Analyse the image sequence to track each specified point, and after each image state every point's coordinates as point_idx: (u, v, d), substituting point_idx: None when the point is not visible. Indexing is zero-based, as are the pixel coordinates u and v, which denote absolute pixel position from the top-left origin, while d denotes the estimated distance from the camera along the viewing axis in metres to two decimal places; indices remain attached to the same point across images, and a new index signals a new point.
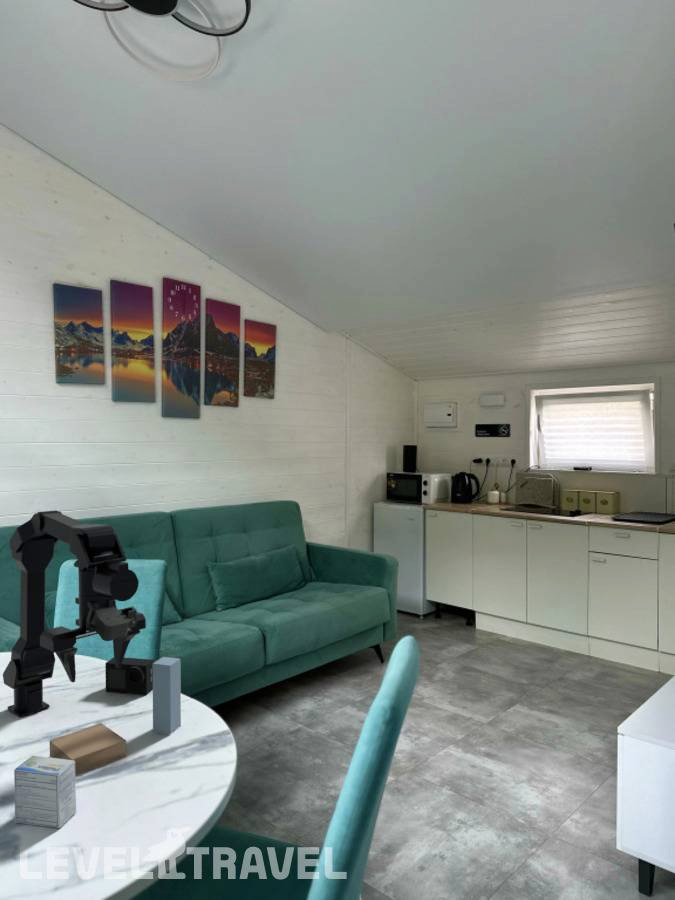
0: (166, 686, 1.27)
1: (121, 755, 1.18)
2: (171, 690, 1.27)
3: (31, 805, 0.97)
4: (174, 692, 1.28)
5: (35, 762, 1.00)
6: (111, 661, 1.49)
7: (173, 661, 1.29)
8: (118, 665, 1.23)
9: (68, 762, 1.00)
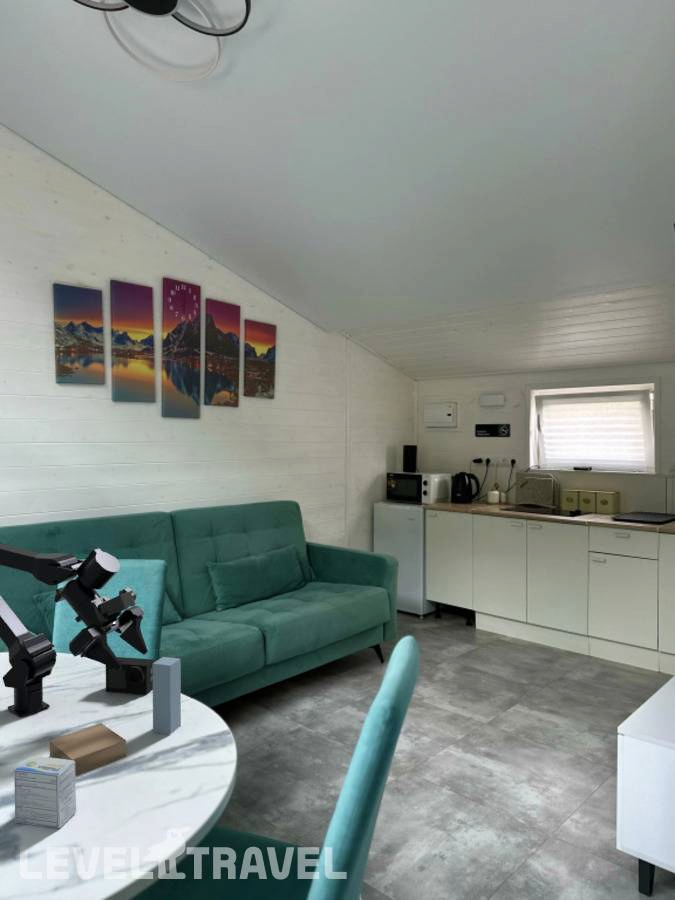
0: (166, 686, 1.27)
1: (121, 755, 1.18)
2: (171, 690, 1.27)
3: (31, 805, 0.97)
4: (174, 692, 1.28)
5: (35, 762, 1.00)
6: None
7: (173, 661, 1.29)
8: (145, 650, 1.36)
9: (68, 762, 1.00)
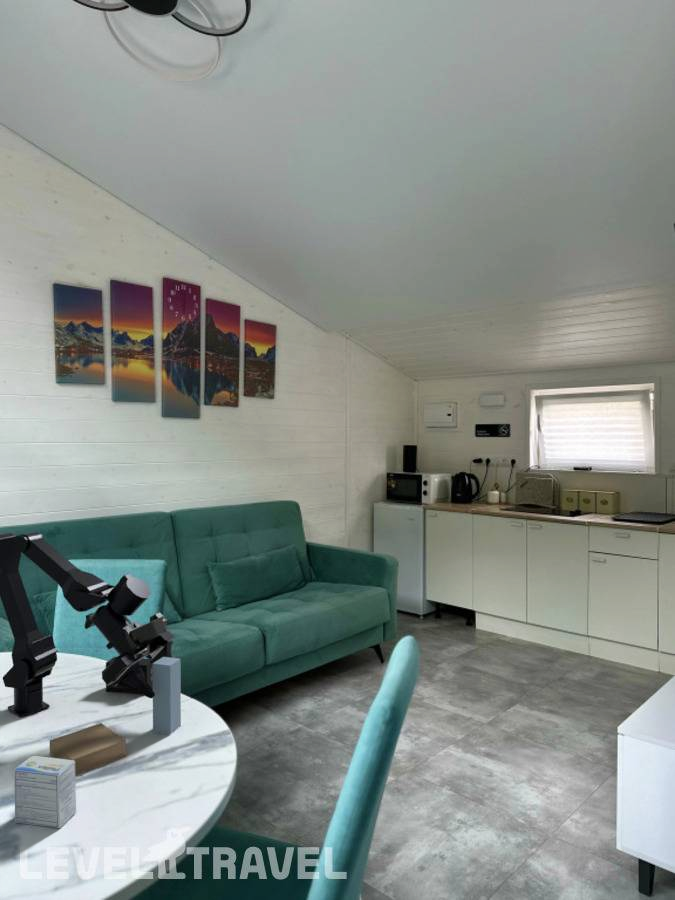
0: (166, 686, 1.27)
1: (121, 755, 1.18)
2: (171, 690, 1.27)
3: (31, 805, 0.97)
4: (174, 692, 1.28)
5: (35, 762, 1.00)
6: (111, 661, 1.49)
7: (173, 661, 1.29)
8: None
9: (68, 762, 1.00)
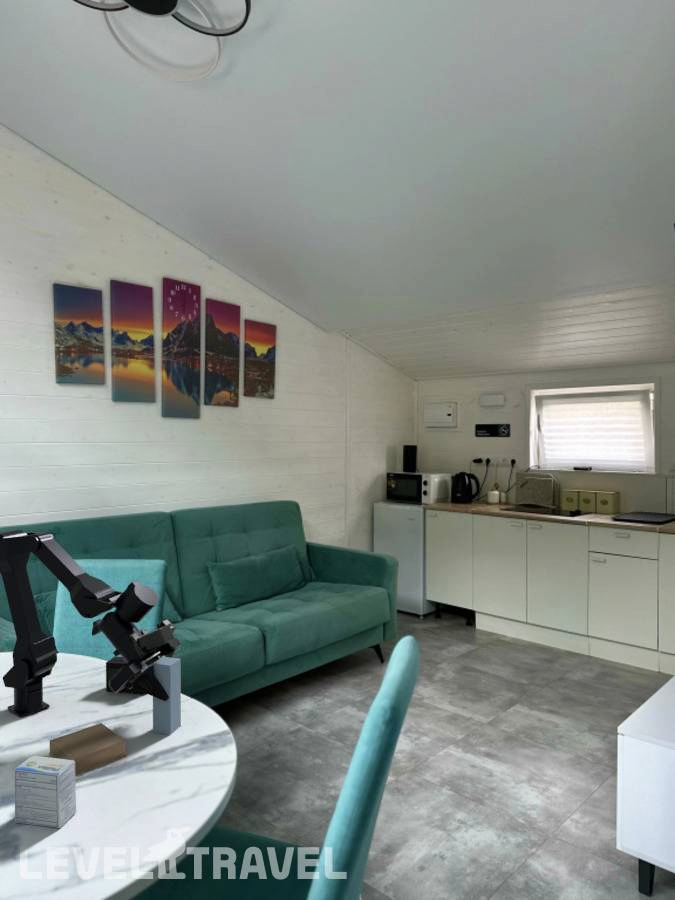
0: (166, 686, 1.27)
1: (121, 755, 1.18)
2: (171, 690, 1.27)
3: (31, 805, 0.97)
4: (174, 692, 1.28)
5: (35, 762, 1.00)
6: (111, 660, 1.49)
7: (173, 661, 1.29)
8: None
9: (68, 762, 1.00)
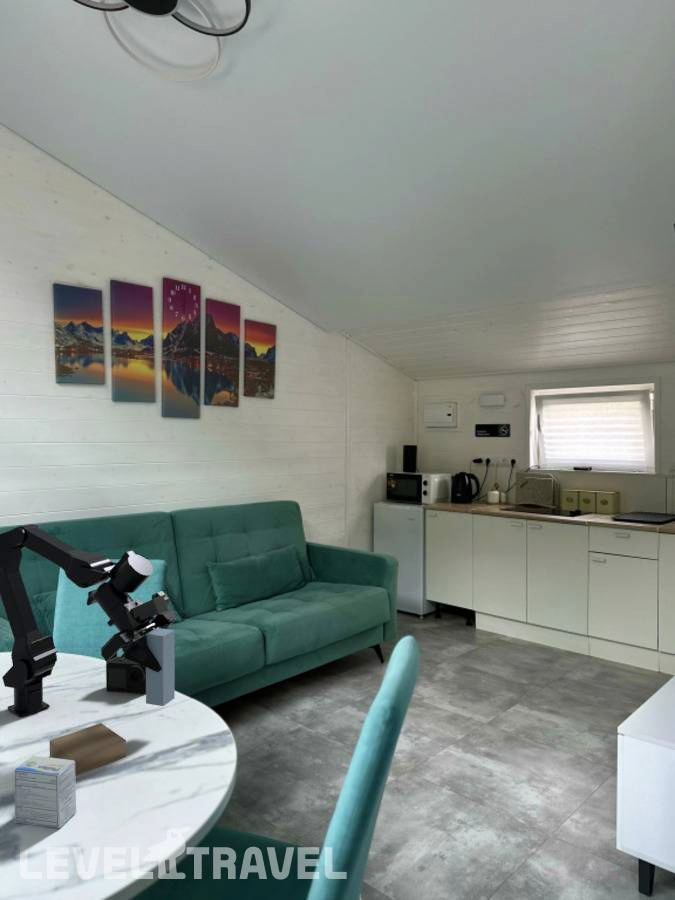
0: (159, 657, 1.26)
1: (121, 755, 1.18)
2: (164, 661, 1.26)
3: (31, 805, 0.97)
4: (168, 663, 1.27)
5: (35, 762, 1.00)
6: (111, 660, 1.49)
7: (167, 632, 1.27)
8: None
9: (68, 762, 1.00)
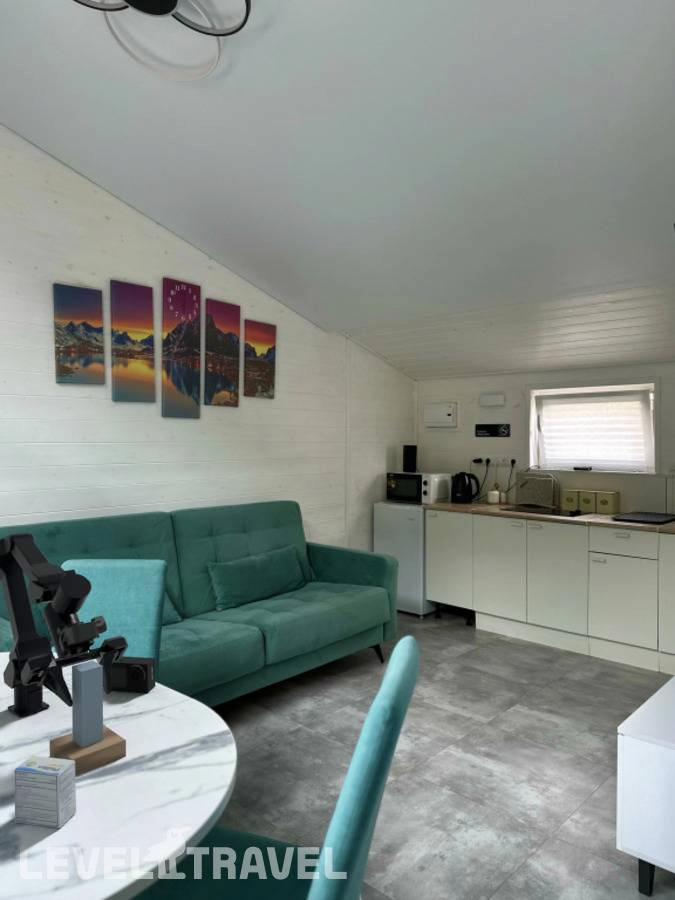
0: (79, 694, 1.16)
1: (121, 755, 1.18)
2: (83, 699, 1.16)
3: (31, 805, 0.97)
4: (90, 702, 1.17)
5: (35, 762, 1.00)
6: None
7: (91, 667, 1.17)
8: (108, 690, 1.20)
9: (68, 762, 1.00)
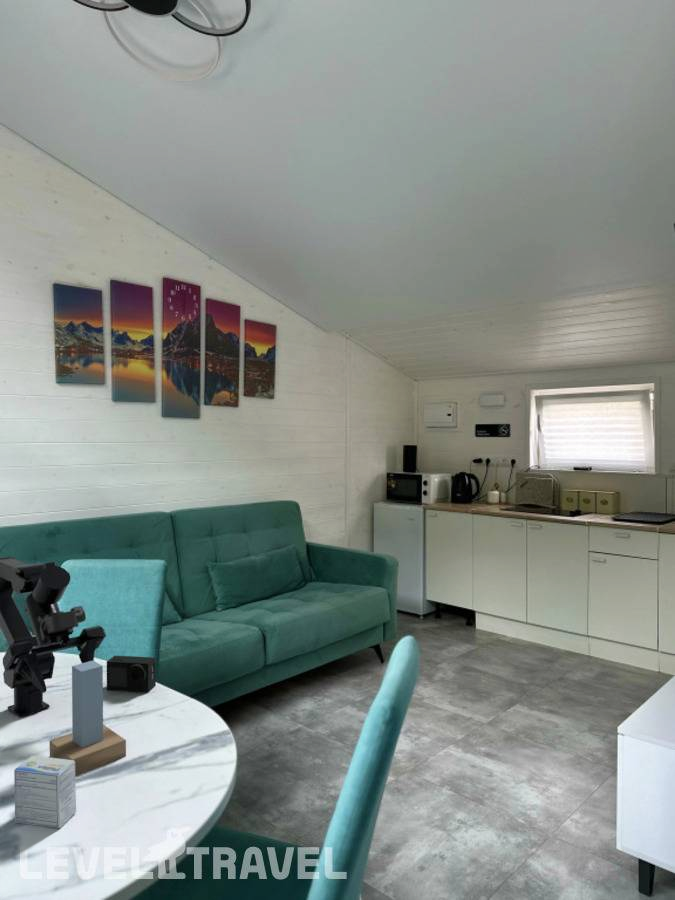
0: (79, 694, 1.16)
1: (121, 755, 1.18)
2: (83, 699, 1.16)
3: (31, 805, 0.97)
4: (90, 702, 1.17)
5: (35, 762, 1.00)
6: (112, 659, 1.50)
7: (91, 667, 1.17)
8: None
9: (68, 762, 1.00)
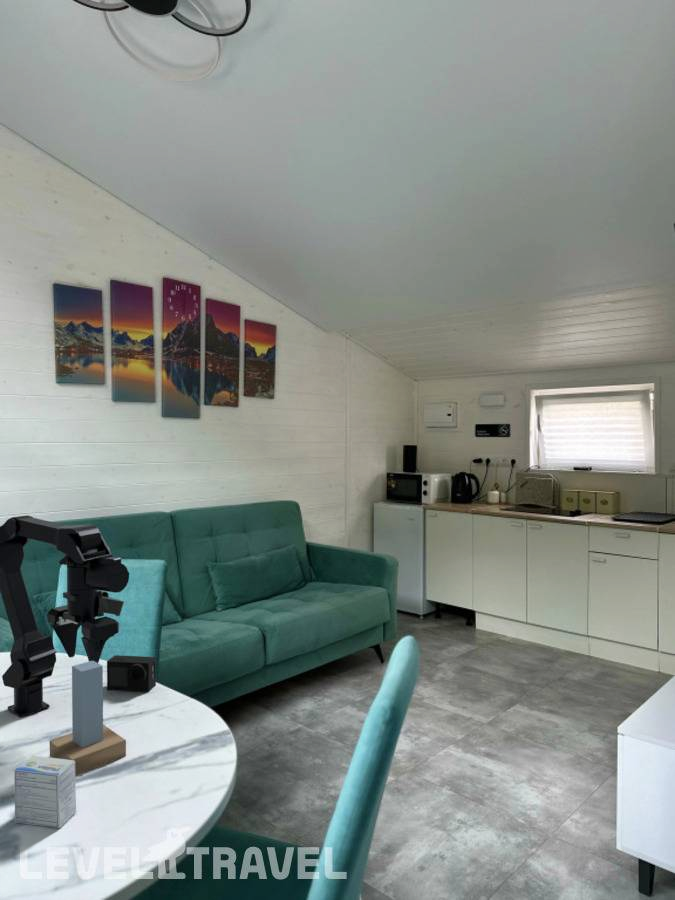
0: (79, 694, 1.16)
1: (121, 755, 1.18)
2: (83, 699, 1.16)
3: (31, 805, 0.97)
4: (90, 702, 1.17)
5: (35, 762, 1.00)
6: (112, 659, 1.50)
7: (91, 667, 1.17)
8: (74, 653, 1.34)
9: (68, 762, 1.00)
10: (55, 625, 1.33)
